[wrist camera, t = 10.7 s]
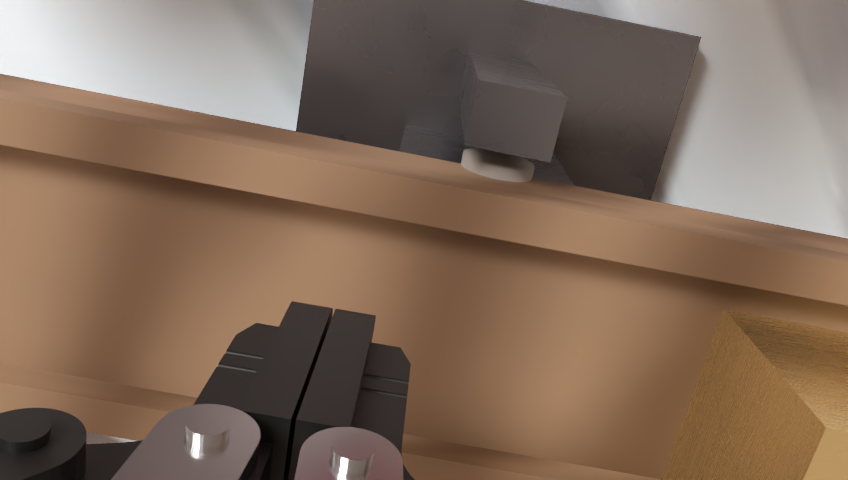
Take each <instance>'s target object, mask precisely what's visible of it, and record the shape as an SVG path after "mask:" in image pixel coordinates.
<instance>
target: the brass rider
mask: <svg viewBox="0 0 848 480" xmlns="http://www.w3.org/2000/svg"><path fill="white" fill-rule="evenodd" d="M662 478H663V480H848V333H847V332H842V331H837V330H832V329H826V328H821V327H816V326H811V325H805V324H800V323H795V322H789V321H784V320H779V319H774V318H768V317H763V316H758V315H752V314H747V313H742V312H737V311H731V310H726V309H724V311H723V313H722V316H721V319H720V321H719V324H718V327H717V330H716V332H715V335H714V338H713V341H712V343H711V346H710V349H709V351H708V354H707V357H706V360H705V362H704V365H703V368H702V371H701V373H700V376H699V379H698V381H697V384H696V387H695V390H694V392H693V395H692V398H691V401H690V403H689V406H688V409H687V411H686V414H685V417H684V420H683V422H682V425H681V428H680V431H679V433H678V436H677V439H676V441H675V444H674V447H673V450H672V452H671V455H670V458H669V461H668V463H667V466H666V469H665V472H664V474H663V477H662Z"/></svg>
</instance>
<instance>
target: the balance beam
mask: <svg viewBox="0 0 848 480" xmlns="http://www.w3.org/2000/svg"><path fill="white" fill-rule="evenodd" d="M534 168H535V166H534V165H533V164H532V163H531V162H529V161H527V160H525V159H523V158H520V157H518V156H515V155H510V154H505V153H500V152H495V151H490V150H485V149H480V148H470V149H465V150H464V151H463V156H462V160H461V163H455V162H450V161H445V160H440V159H435V158H430V157H425V156H420V155H414V154H409V153H404V152H399V151H394V150H389V149H384V148H378V147H373V146H368V145H363V144H358V143H353V142H348V141H342V140H337V139H332V138H327V137H322V136H317V135H312V134H307V133H301V132H296V131H291V130H286V129H281V128H276V127H271V126H265V125H260V124H255V123H250V122H245V121H240V120H235V119H229V118H224V117H219V116H214V115H209V114H204V113H199V112H193V111H188V110H183V109H178V108H173V107H168V106H163V105H158V104H152V103H147V102H142V101H137V100H132V99H127V98H122V97H116V96H111V95H106V94H101V93H96V92H91V91H86V90H80V89H75V88H70V87H65V86H60V85H55V84H50V83H45V82H39V81H34V80H29V79H24V78H19V77H14V76H9V75H3V74H0V413H3V412H7V411H11V410H16V409H23V408H50V409H56V410H61V411H64V412H67V413H69V414H71V415H73V416H75V417H76V418H78V419H79V420H80V421H81V422H82V423H83V425H84V427H85V429H86V432H90V433H96V434H102V435H108V436H113V437H119V438H125V439H131V440H136V441H141V440H144V438H145V437H146V436H147V435H148V433H149V432H150V431H151V430H152V429H153V427H154V426H155V425H156V424H157V422H158V421H159V420H160V419H161V418H163V417H164V416H165V415H167V414H168V413H170V412H172V411H174V410H177V409H180V408H182V407H186V406H191V405H193V404H194V403H195V401H196V400H197V398H198V396H199V395H200V393H201V391H202V390H203V388H204V386H205V385H206V383H207V381H208V380H209V378H210V377H211V375H212V373H213V372H214V370H215V368H216V367H218V364H219V362H220V360H221V359H222V357H223V355H224V354H225V353H226V351H227V349H228V347H229V345H230V344H231V342H232V340H233V339H234V337H235V336H236V334H238V333H240V332H241V331H243V330H245V329H247V328H248V327H250V326H252V325H254V324H255V323H260V324H266V325H272V326H278V327H279V325H280V323H281V321H282V319H283V317H284V315H285V313H286V311H287V309H288V307H289V305H290V303H291V302H292V301H294V302H300V303H306V304H312V305H317V306H323V307H329V308H333V314H334V311H335V309H341V310H347V311H353V312H359V313H365V314H370V315H376V319H375V326H374V332H373V338H372V343H378V344H384V345H389V346H395V347H401V349H402V351H403V352H404V354H405V356H406V357H407V359H408V360H409V362H410V364H411V366H410V376H409V385H408V394H407V404H406V413H405V423H404V432H403V441H402V451H401V455H402V460H403V464H404V466H405V468H406V470H407V471H408V472H409V474H410V475H411V476H412V477H413V478H414V479H415V480H663V478H662V477H663V474H664V472H665V469H666V466H667V463H668V461H669V458H670V455H671V452H672V450H673V447H674V444H675V441H676V439H677V436H678V433H679V431H680V428H681V425H682V422H683V420H684V417H685V414H686V411H687V409H688V406H689V403H690V401H691V398H692V395H693V392H694V390H695V387H696V384H697V381H698V379H699V376H700V373H701V371H702V368H703V365H704V362H705V360H706V357H707V354H708V351H709V349H710V346H711V343H712V341H713V338H714V335H715V332H716V330H717V327H718V324H719V321H720V319H721V316H722V313H723V311H724V309H726V310H731V311H737V312H742V313H747V314H752V315H758V316H763V317H768V318H774V319H779V320H784V321H789V322H795V323H800V324H805V325H811V326H816V327H821V328H826V329H832V330H837V331H842V332H847V333H848V239H846V238H841V237H836V236H830V235H825V234H820V233H815V232H810V231H805V230H800V229H794V228H789V227H784V226H779V225H774V224H769V223H764V222H759V221H753V220H748V219H743V218H738V217H733V216H728V215H723V214H717V213H712V212H707V211H702V210H697V209H692V208H687V207H681V206H676V205H671V204H666V203H661V202H656V201H651V200H646V199H640V198H635V197H630V196H625V195H620V194H615V193H610V192H604V191H599V190H594V189H589V188H584V187H579V186H574V185H568V184H563V183H558V182H553V181H548V180H543V179H538V178H533V177H532V176H533V172H534ZM332 317H333V316H332Z"/></svg>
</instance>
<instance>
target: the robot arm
mask: <svg viewBox="0 0 848 480" xmlns="http://www.w3.org/2000/svg"><path fill="white" fill-rule="evenodd" d="M332 316H333V317H332ZM375 319H376V315H370V314H365V313H359V312H353V311H347V310H341V309H335V311H334V314H333V308H329V307H323V306H317V305H312V304H306V303H300V302H294V301H292V302H291V303H290V305H289V307H288V309H287V311H286V313H285V315H284V317H283V319H282V321H281V323H280V325H279V327H278V326H272V325H266V324H260V323H255V324H254V325H252V326H250V327H248V328H247V329H245V330H243V331H241V332H240V333H238V334H236V336H235V337H234V339H233V340H232V342H231V344H230V345H229V347H228V349H227V351H226V353H225V354H224V355H223V357H222V359H221V360H220V362H219V364H218V367H216V368H215V370H214V372H213V373H212V375H211V377H210V378H209V380H208V381H207V383H206V385H205V386H204V388H203V390H202V391H201V393H200V395H199V396H198V398H197V400H196V401H195V403H194V404H193V405H191V406H186V407H182V408H180V409H177V410H174V411H172V412H170V413H168V414H167V415H165V416H164V417H163V418H161V419H160V420H159V421H158V422H157V424H156V425H155V426H154V427H153V429H152V430H151V431H150V432H149V433H148V435H147V436H146V437H145V438H144V440H141V441H135V442H126V443H107V444H86V429H85V427H84V425H83V423H82V422H81V421H80V420H79V419H78V418H76V417H75V416H73V415H71V414H69V413H67V412H64V411H61V410H56V409H50V408H23V409H16V410H11V411H7V412H3V413H0V480H415V479H414V478H413V477H412V476H411V475H410V474H409V472H408V471H407V470H406V468H405V466H404V464H403V460H402V455H401V451H402V441H403V432H404V423H405V413H406V404H407V394H408V385H409V376H410V366H411V364H410V362H409V360H408V359H407V357H406V356H405V354H404V352H403V351H402V349H401V347H395V346H389V345H384V344H378V343H372V338H373V332H374V326H375Z"/></svg>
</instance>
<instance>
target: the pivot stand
mask: <svg viewBox="0 0 848 480" xmlns="http://www.w3.org/2000/svg"><path fill="white" fill-rule="evenodd" d="M700 39H701V37H698V36H693V35H689V34H684V33H679V32H674V31H669V30H664V29H660V28H655V27H650V26H645V25H640V24H635V23H631V22H626V21H621V20H616V19H611V18H606V17H601V16H597V15H592V14H587V13H582V12H577V11H572V10H568V9H563V8H558V7H553V6H548V5H543V4H538V3H534V2H529V1H524V0H314V4H313V12H312V19H311V26H310V33H309V41H308V48H307V55H306V63H305V70H304V77H303V85H302V92H301V99H300V106H299V114H298V121H297V128H296V132H301V133H307V134H312V135H317V136H322V137H327V138H332V139H337V140H342V141H348V142H353V143H358V144H363V145H368V146H373V147H378V148H384V149H389V150H394V151H399V152H404V153H409V154H414V155H420V156H425V157H430V158H435V159H440V160H445V161H450V162H455V163H461V160H462V156H463V151H464V150H465V149H470V148H480V149H485V150H490V151H495V152H500V153H505V154H510V155H515V156H518V157H520V158H523V159H525V160H527V161H529V162H531V163H532V164H533V165H534V166H535V168H534V172H533V176H532V177H533V178H538V179H543V180H548V181H553V182H558V183H563V184H568V185H574V186H579V187H584V188H589V189H594V190H599V191H604V192H610V193H615V194H620V195H625V196H630V197H635V198H640V199H646V200H651V197H652V193H653V190H654V187H655V184H656V181H657V177H658V174H659V171H660V168H661V165H662V161H663V158H664V155H665V152H666V148H667V145H668V142H669V139H670V136H671V132H672V129H673V126H674V123H675V120H676V116H677V113H678V110H679V107H680V103H681V100H682V97H683V94H684V91H685V87H686V84H687V81H688V78H689V74H690V71H691V68H692V65H693V62H694V58H695V55H696V52H697V49H698V46H699V42H700Z"/></svg>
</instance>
